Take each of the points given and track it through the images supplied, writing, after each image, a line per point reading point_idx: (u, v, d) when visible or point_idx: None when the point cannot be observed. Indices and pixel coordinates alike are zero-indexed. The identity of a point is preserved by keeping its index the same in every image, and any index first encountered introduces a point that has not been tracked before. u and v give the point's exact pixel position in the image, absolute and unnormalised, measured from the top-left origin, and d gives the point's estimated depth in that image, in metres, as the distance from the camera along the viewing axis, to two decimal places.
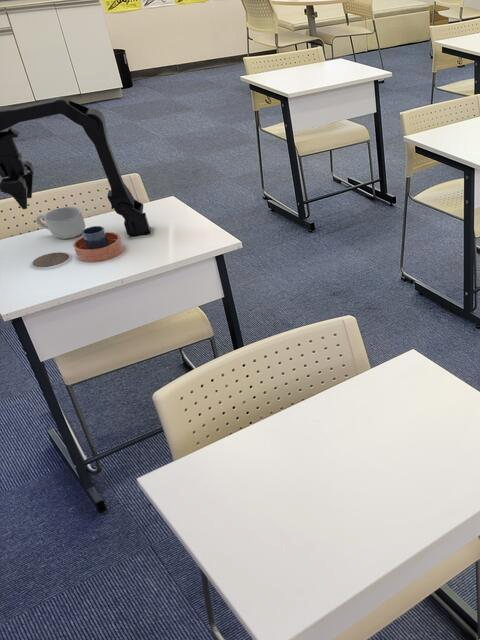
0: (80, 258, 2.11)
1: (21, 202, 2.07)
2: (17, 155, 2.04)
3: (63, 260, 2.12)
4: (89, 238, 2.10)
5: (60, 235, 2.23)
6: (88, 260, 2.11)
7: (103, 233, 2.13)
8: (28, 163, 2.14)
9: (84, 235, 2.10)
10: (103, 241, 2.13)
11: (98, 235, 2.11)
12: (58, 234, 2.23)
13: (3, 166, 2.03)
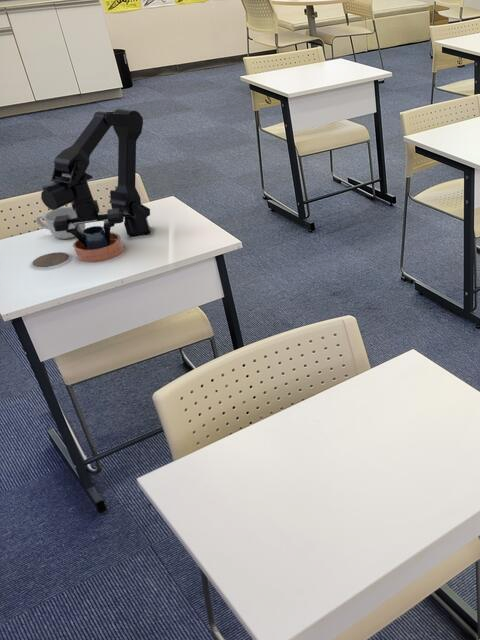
0: (80, 258, 2.11)
1: None
2: (77, 203, 2.04)
3: (63, 260, 2.12)
4: (89, 238, 2.10)
5: (60, 235, 2.23)
6: (88, 260, 2.11)
7: (103, 233, 2.13)
8: (114, 215, 2.10)
9: (84, 235, 2.10)
10: (103, 241, 2.13)
11: (98, 235, 2.11)
12: (58, 234, 2.23)
13: None
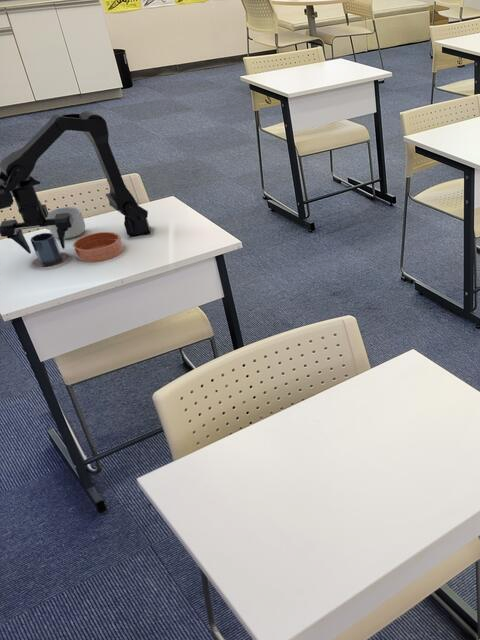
0: (80, 258, 2.11)
1: None
2: (22, 207, 2.00)
3: (63, 260, 2.12)
4: (37, 245, 2.07)
5: None
6: (88, 260, 2.11)
7: (52, 240, 2.09)
8: (62, 220, 2.05)
9: (33, 242, 2.07)
10: (53, 248, 2.09)
11: (47, 242, 2.07)
12: None
13: None
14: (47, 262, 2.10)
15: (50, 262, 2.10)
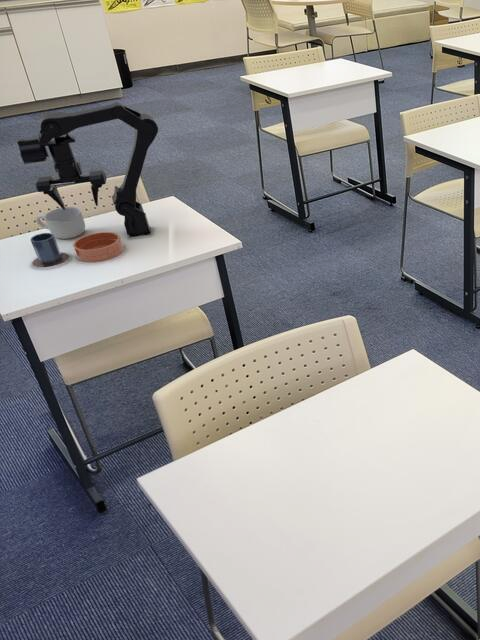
0: (80, 258, 2.11)
1: None
2: (59, 163, 2.06)
3: (63, 260, 2.12)
4: (37, 245, 2.07)
5: (60, 235, 2.23)
6: (88, 260, 2.11)
7: (52, 240, 2.09)
8: (96, 176, 2.11)
9: (33, 242, 2.07)
10: (53, 248, 2.09)
11: (47, 242, 2.07)
12: (58, 234, 2.23)
13: None
14: (47, 262, 2.10)
15: (50, 262, 2.10)
